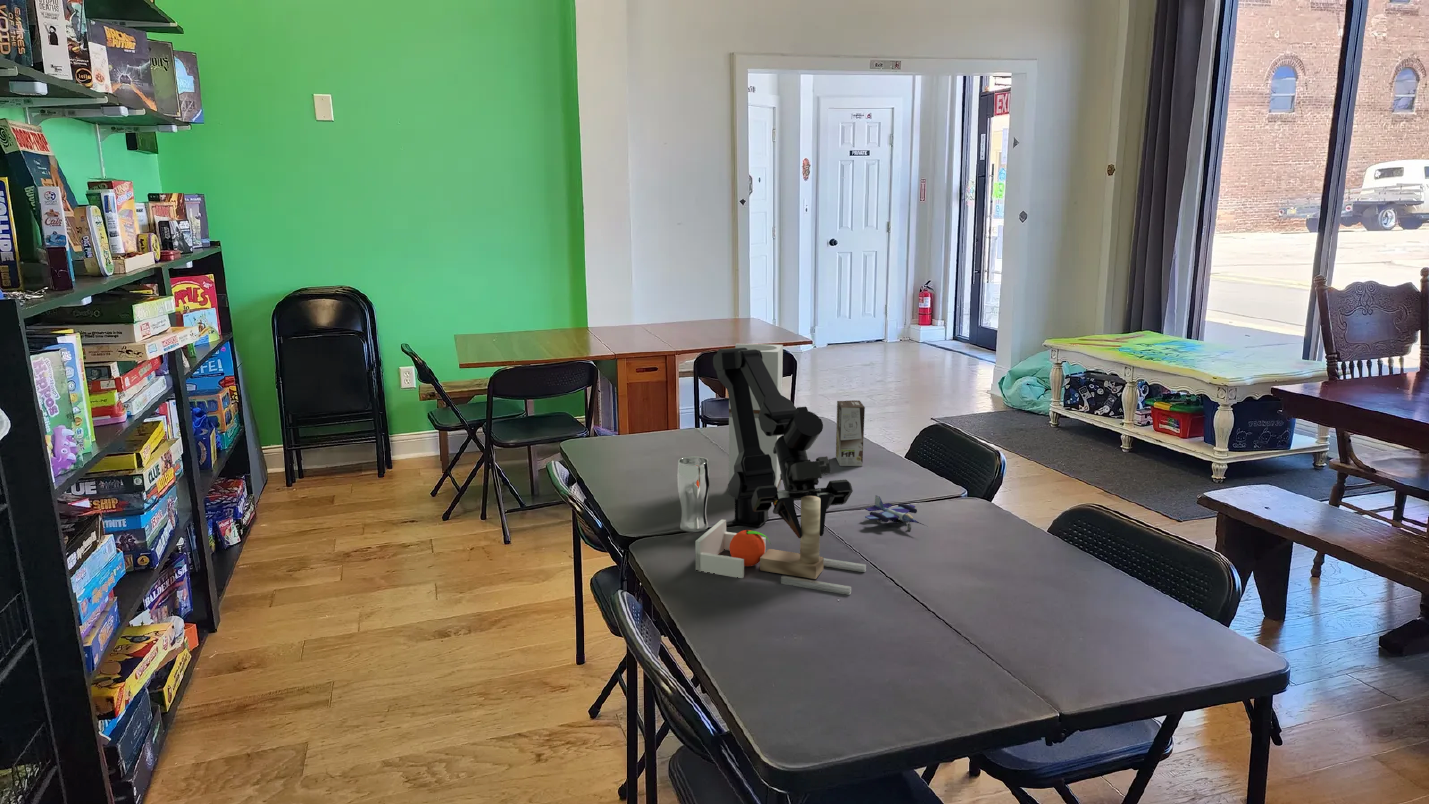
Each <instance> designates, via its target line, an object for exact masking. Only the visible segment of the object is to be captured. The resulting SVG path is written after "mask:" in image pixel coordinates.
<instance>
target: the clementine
mask: <svg viewBox="0 0 1429 804" xmlns="http://www.w3.org/2000/svg"><path fill="white" fill-rule="evenodd" d="M736 533H737V534H736V535H735V536H734V537H733V538H732V540H731V542H730V547H729V548H730V550H729V554H730V557H735V558H741V559H744V567H752V566H756V565H757V564H760V557H761V556H762V555H763V554H764V553H765V543H764V541H763V539H762V537H766V540H768V542H769V544H770V545H772V544H771V541H770V539H769V538H768V537H767V535H765V534H764V533H762V532H759V531H756V530H750V529H745V530H744V529H743V530H741V531H739V532H736Z"/></svg>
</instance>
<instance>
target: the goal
mask: <svg viewBox="0 0 1429 804" xmlns="http://www.w3.org/2000/svg"><path fill="white" fill-rule="evenodd" d="M737 533H738V532H730V531H727V519H722V518H721V519H720V520H719V521H718V522H717V523H715V524H714V525H713V526H712V527H710V528H709V529H707V531H706V532H704V533H703V534H702V535H701V536H700V537H698V538H697V539H696V540H695V542H694V543H695V546H694V547H695V571H696V570H699V571H698V572H701V571H704V572H703V573H707V572H710V573H709V574H713V573H715V574H714V575H720V576H726V577H731V578H737V577H738V578H739V579H744V576H745V566H744V559H741V558H735V557H732V556H729V555H721V553H723V552H724V551H730V548H729V547H730V542H731V540H732V538H733V537H734V536H735V535H736V534H737ZM761 537H762V539H763V541H764V543H765V552H766V551H767V550H766V549H767V548H766V547H767V546H766V545H767V538H766V537H767V536H766V537H764V536H761ZM724 549H725V550H724ZM720 552H721V553H720ZM719 553H720V554H719ZM718 554H719V555H718Z"/></svg>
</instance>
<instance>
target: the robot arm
mask: <svg viewBox="0 0 1429 804" xmlns="http://www.w3.org/2000/svg"><path fill="white" fill-rule="evenodd" d="M712 364H713V369H714V371H715V372H716V376H717V379H718V381H719V382H720V383H721V384H722V385H723V387H724V388H725V389H726V391H727V395H728V402H729V401H730V407H731V412H732V418H733V424H734V429H735V435H736V440H737V446H738V452H739V454H738V457H737V459H736V462H735V465H734V475H733V477H732V478H731V480H730V482H729V481H728V484H727V488H728V489H727V490H728V495H729V494H730V495H729V496H731V497H733V499H734V518H733V520H732V521H731V524H733V525H740V526H748V527H753V528H760V527H762V525H763V524H765V523H766V522H767V521H768V520H769V517H770V516H769V510H770V509H771V507H772V505H773V506H774V507H773V509H772V513H773V515H778V516H779V517H780V518H781V519H782V520H784V522H785V523H786V524H787V525H788V526H789V528H790V529H791V530H792V532H793V533H794V534H795V535H796V537H797V538H798V539H800V538H801V537H802V533H801V523H800V521H799V518H798V515H797V511H796V507H795V501H801V498H802V497H804V496H816V497H819V498H820V499H821V504H820V537H823V536H824V532H825V523H826V514H827V510H829V507H831V506H839V505H840V506H841V505H845V504H846V503H847V501H848V500H849V498H850V496H851V495H852V493H853V492H854V489H853V487H852V484H851V482H850V481H848V480H847V479H836V480H835V479H834V480H833V479H832V480H829V482H827V485H826V487H819V488H816V486H817V485H819V483H820V482H819V481H820V480H819V479H822V478H823V475H828V474H829V473H831V467H830V461H829V457H828V456H818V457H817V458H816V459H815V460H814V461H813V460H812V461H811V459H808V458H809V457H808V454H807V451H808V450H809V449H811V448H812V445H814V443H815V442H816V440H817V439H818V437H819V436H820V435H821V433H822V431H823V428H824V424H823V421H822V419H821V418H820V417H819V415H817V414H815V412H813V411H809V409H808V407H807V406H806V405H805V406H798V407H796V406H795V404H794V403H793V402H792V400H791V399H789V398H788V397H785V396H784V395H783V394H782V395H781V394H780V393H779V391H778V389H777V387H776V385H775V383H774V381H773V379H772V378H771V376H770V374H769V372H768V370H767V368H766V366H765V364H764V362H763V360H762V354H761V352H760V351H759V350H756V349H752V350H748V349H747V348H745V347H744V348H735V347H731V348H719V349H718V350H717V353H716V354H714V355H713V358H712ZM749 387H750V389H751V391H752V393H753V395H754V397H755V399H756V401H757V403H758V405H759V407H760V413H759V417H758V419H759V422H760V427H761V429H762V431H763V432H764V434H765V435H766V436H778V435H781V437H779V438H778V440H777V441H776V443H775V447H774V449H773V453H774V454H777V457H778V462H779V466H780V471H781V474H780V478H781V481H782V483H783V487H784V489H779V490H778V491H777V487H776V486H775V485H774V484H775V479H776V477H775V473H774V470H773V467H772V461H771V457H770V455H769V454H765V453H764V452H763V451H762V450H761V448H760V444H759V438H758V433H757V428H756V422H755V417H754V411H753V406H752V400H751V395H750V389H749Z"/></svg>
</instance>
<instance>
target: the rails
mask: <svg viewBox="0 0 1429 804" xmlns="http://www.w3.org/2000/svg"><path fill="white" fill-rule="evenodd" d="M823 567H827V568H834V569H838V570H839V569H840V570H846V571H847V570H848V571H854V572H859V573H861V572H862V573H866V571H867V564H864V563H860V562H859V563H857V562H851V561H845V560H838V559H831V558H825V557H824V562H823ZM780 584H781V585H786V586H792V585H793V586H794V587H798V588H804V589H805V588H806V589H811V590H816V591H817V590H818V591H824V592H828V593H829V592H830V593H835V594H842V595H845V596H850V595H851V593H852V586H849V585H842V584H837V583H833V582H832V583H830V582H825V581H818V580H814V579H808V578H802V577H796V576H790V575H782V576H781V577H780Z"/></svg>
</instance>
